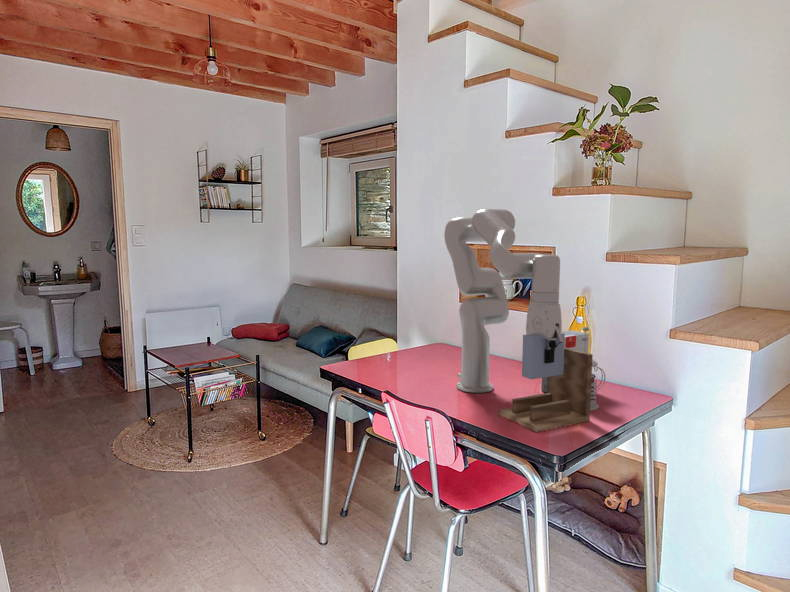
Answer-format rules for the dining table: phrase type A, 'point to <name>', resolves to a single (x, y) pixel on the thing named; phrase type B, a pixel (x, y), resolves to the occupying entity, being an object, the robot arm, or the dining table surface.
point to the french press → (594, 364)
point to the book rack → (558, 397)
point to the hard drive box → (571, 347)
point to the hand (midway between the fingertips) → (543, 360)
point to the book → (540, 358)
